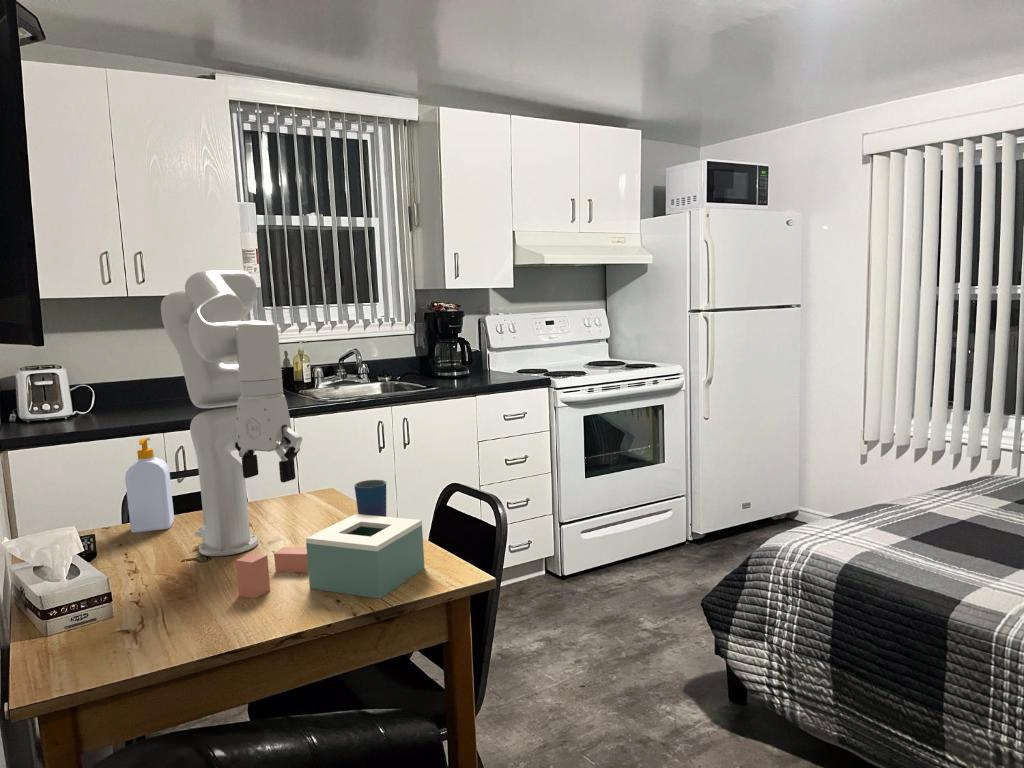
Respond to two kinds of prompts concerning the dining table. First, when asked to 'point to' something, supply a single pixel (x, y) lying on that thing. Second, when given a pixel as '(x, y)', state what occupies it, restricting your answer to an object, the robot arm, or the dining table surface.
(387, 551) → the green and cream box
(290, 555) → the block
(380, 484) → the cup
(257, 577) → the salmon pink block
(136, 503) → the soap bottle
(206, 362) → the robot arm
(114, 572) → the dining table surface
